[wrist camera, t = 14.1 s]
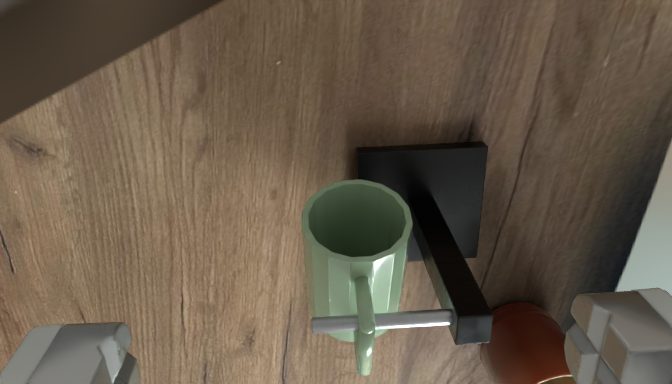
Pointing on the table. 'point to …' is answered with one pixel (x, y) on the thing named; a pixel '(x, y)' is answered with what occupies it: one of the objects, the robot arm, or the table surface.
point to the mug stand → (433, 232)
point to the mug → (525, 347)
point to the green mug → (356, 257)
